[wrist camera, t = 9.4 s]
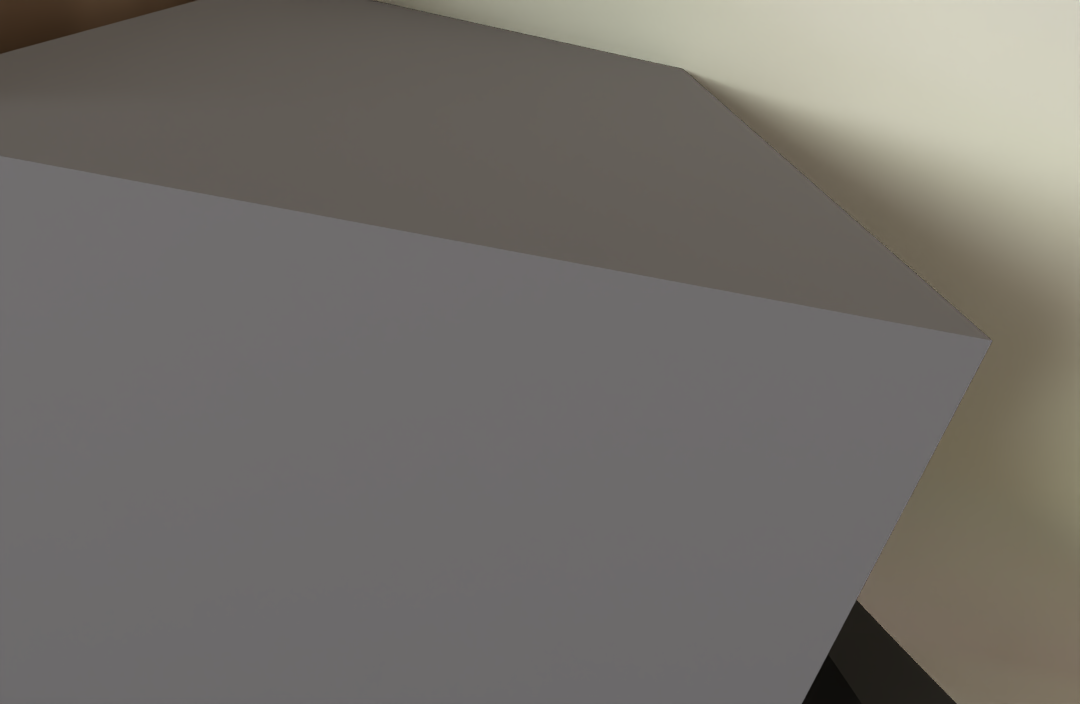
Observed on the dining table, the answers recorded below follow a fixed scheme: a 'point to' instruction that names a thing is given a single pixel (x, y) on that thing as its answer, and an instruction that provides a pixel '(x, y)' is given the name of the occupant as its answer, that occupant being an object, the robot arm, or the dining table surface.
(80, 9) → the wall
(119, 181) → the block
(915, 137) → the dining table surface
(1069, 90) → the dining table surface
